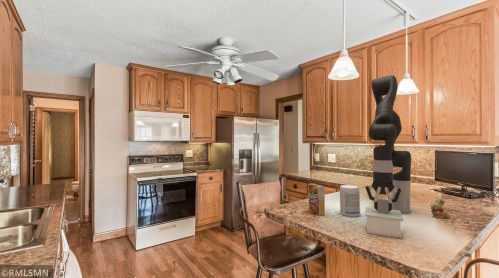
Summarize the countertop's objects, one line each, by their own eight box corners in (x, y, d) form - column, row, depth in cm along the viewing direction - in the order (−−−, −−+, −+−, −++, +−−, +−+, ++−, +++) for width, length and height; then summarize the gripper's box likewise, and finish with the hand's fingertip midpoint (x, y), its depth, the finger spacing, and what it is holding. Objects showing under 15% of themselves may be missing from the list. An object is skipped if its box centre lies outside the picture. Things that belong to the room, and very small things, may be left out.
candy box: (307, 211, 134) (307, 183, 135) (314, 210, 136) (314, 183, 136) (318, 216, 126) (318, 186, 126) (325, 215, 128) (325, 185, 128)
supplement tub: (363, 215, 128) (363, 187, 128) (352, 218, 122) (352, 188, 122) (347, 210, 136) (347, 184, 136) (336, 213, 130) (336, 186, 131)
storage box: (367, 224, 113) (367, 209, 113) (398, 228, 108) (398, 212, 108) (366, 233, 103) (366, 216, 103) (400, 238, 97) (400, 220, 97)
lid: (366, 210, 114) (366, 195, 114) (400, 214, 108) (400, 199, 108) (364, 218, 102) (364, 202, 102) (402, 223, 96) (402, 206, 96)
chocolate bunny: (430, 214, 129) (429, 195, 129) (449, 217, 125) (449, 197, 125) (431, 217, 124) (431, 197, 124) (451, 220, 120) (451, 199, 120)
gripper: (401, 170, 105) (401, 210, 105) (364, 168, 112) (364, 206, 112) (402, 172, 99) (403, 215, 99) (363, 170, 105) (364, 210, 105)
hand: (382, 210), depth 105 cm, fingers closed on lid, 4 cm apart
